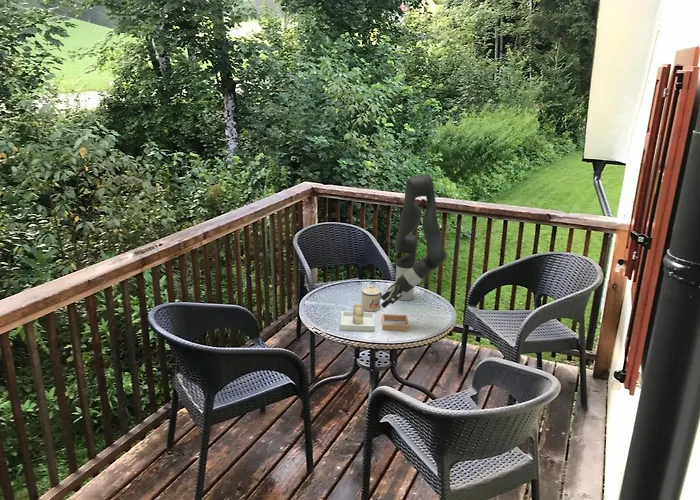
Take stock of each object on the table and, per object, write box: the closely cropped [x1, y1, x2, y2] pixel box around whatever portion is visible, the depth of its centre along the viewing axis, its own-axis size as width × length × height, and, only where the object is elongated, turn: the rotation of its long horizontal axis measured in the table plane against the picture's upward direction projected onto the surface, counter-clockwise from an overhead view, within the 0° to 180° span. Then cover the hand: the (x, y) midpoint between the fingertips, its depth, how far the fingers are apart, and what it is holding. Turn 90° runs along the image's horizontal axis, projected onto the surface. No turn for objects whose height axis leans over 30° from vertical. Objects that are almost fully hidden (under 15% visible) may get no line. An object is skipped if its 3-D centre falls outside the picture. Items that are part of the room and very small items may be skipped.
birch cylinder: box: [352, 303, 364, 325], centre depth 253 cm, size 5×5×8 cm
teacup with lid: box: [361, 284, 383, 313], centre depth 271 cm, size 12×9×12 cm
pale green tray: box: [339, 310, 376, 333], centre depth 254 cm, size 15×15×3 cm
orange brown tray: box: [381, 313, 410, 332], centre depth 255 cm, size 12×12×2 cm
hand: (382, 302), depth 251 cm, fingers open, 8 cm apart
